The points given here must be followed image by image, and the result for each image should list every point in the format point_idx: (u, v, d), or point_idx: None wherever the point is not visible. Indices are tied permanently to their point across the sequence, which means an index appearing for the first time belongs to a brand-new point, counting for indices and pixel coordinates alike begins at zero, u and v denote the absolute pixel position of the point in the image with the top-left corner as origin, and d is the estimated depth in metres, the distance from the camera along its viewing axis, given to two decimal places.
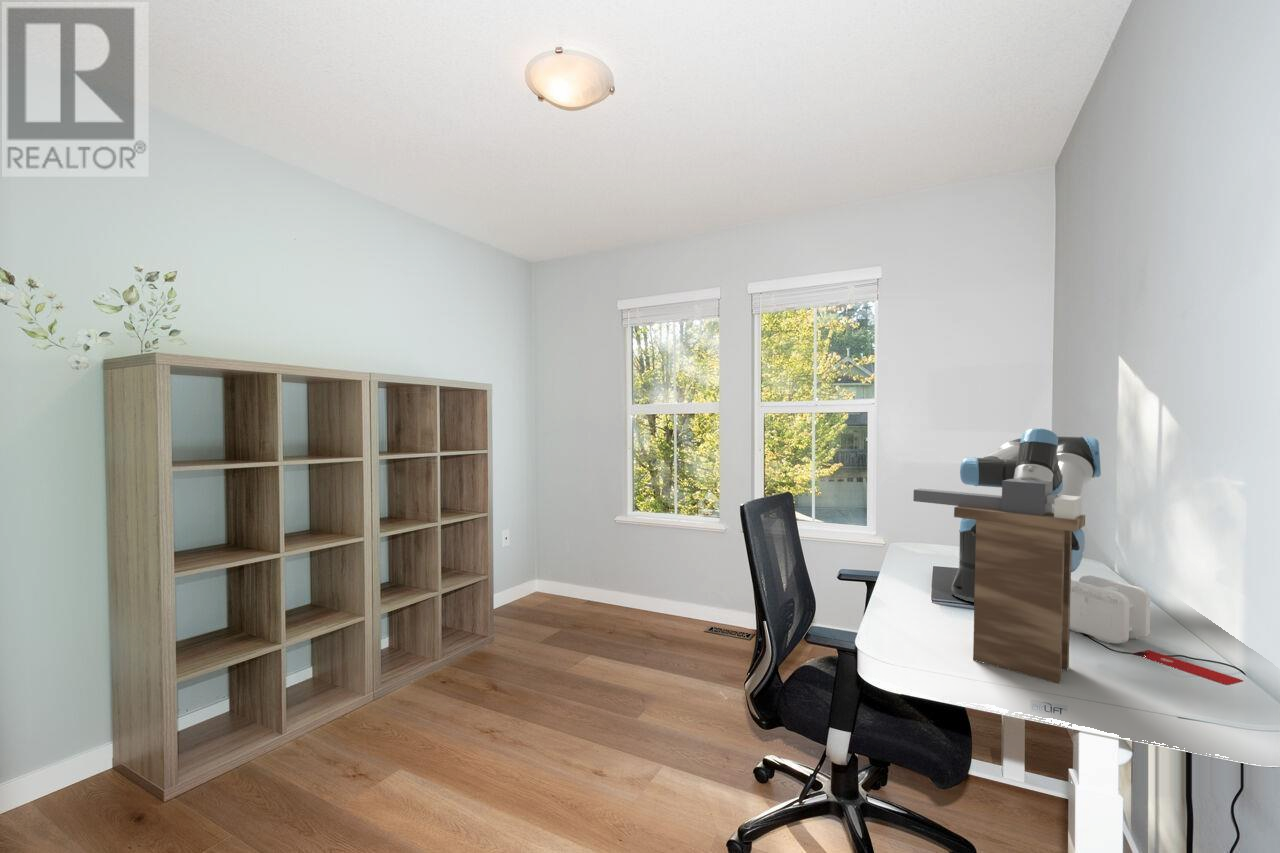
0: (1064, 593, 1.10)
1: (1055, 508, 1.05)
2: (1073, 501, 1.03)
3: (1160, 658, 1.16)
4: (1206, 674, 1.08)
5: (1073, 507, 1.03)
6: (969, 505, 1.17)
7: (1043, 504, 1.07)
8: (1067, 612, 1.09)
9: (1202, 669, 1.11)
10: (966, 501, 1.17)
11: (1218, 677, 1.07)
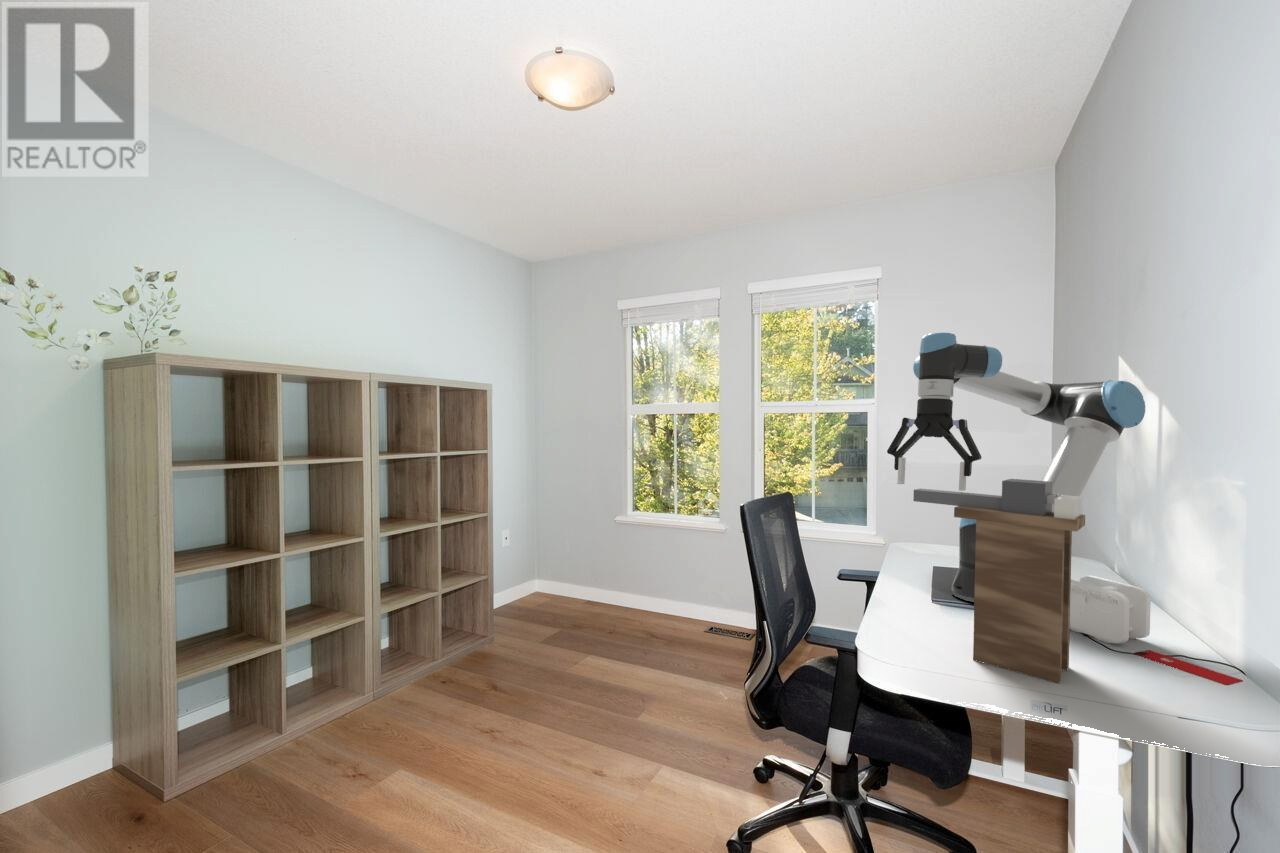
0: (1064, 593, 1.10)
1: (1055, 508, 1.05)
2: (1073, 501, 1.03)
3: (1160, 658, 1.16)
4: (1206, 674, 1.08)
5: (1073, 507, 1.03)
6: (969, 505, 1.17)
7: (1043, 504, 1.07)
8: (1067, 612, 1.09)
9: (1202, 669, 1.11)
10: (966, 501, 1.17)
11: (1218, 677, 1.07)
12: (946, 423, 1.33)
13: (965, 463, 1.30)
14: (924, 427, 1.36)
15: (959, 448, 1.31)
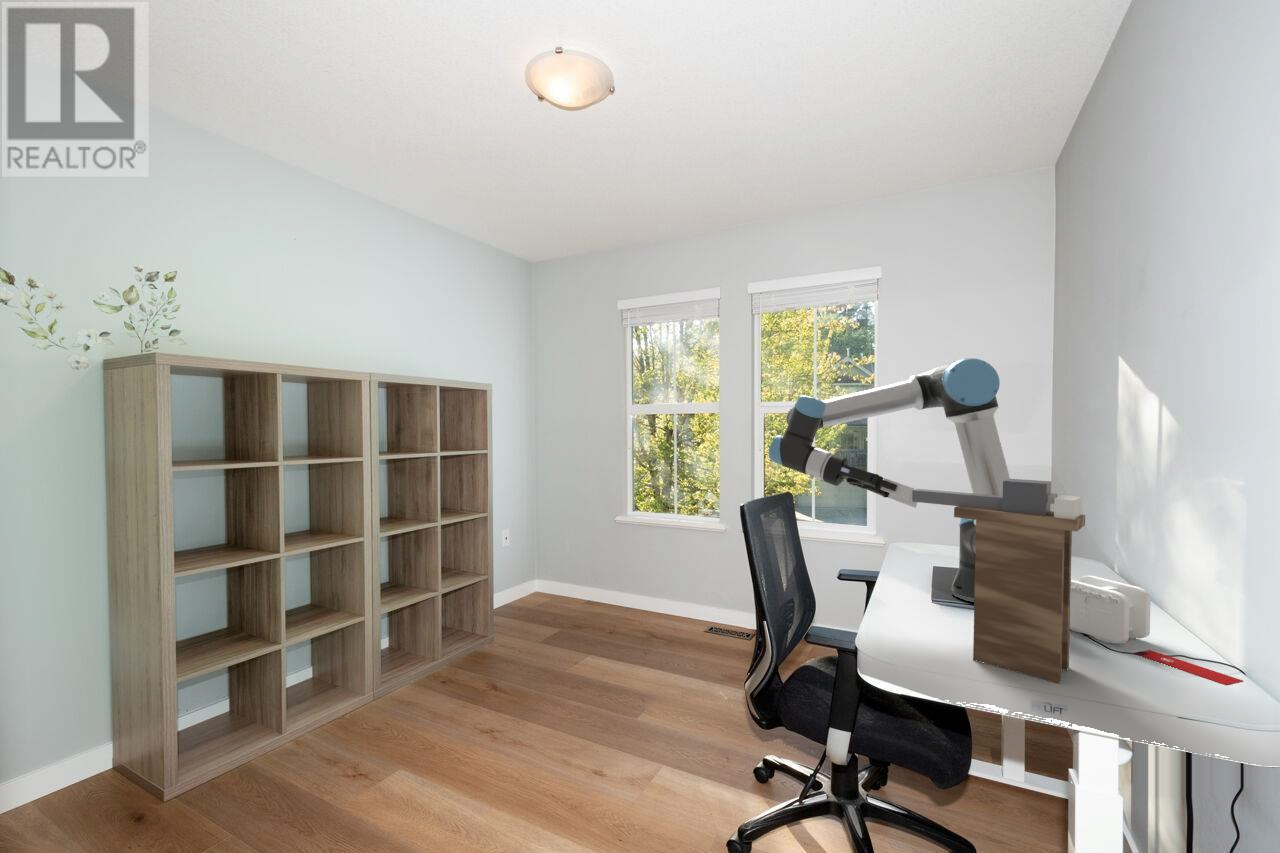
0: (1064, 593, 1.10)
1: (1055, 508, 1.05)
2: (1073, 501, 1.03)
3: (1160, 658, 1.16)
4: (1206, 674, 1.08)
5: (1073, 507, 1.03)
6: (969, 505, 1.16)
7: (1044, 504, 1.07)
8: (1067, 612, 1.09)
9: (1202, 669, 1.11)
10: (966, 501, 1.17)
11: (1217, 677, 1.07)
12: (846, 477, 1.39)
13: (882, 486, 1.30)
14: None
15: (867, 484, 1.33)
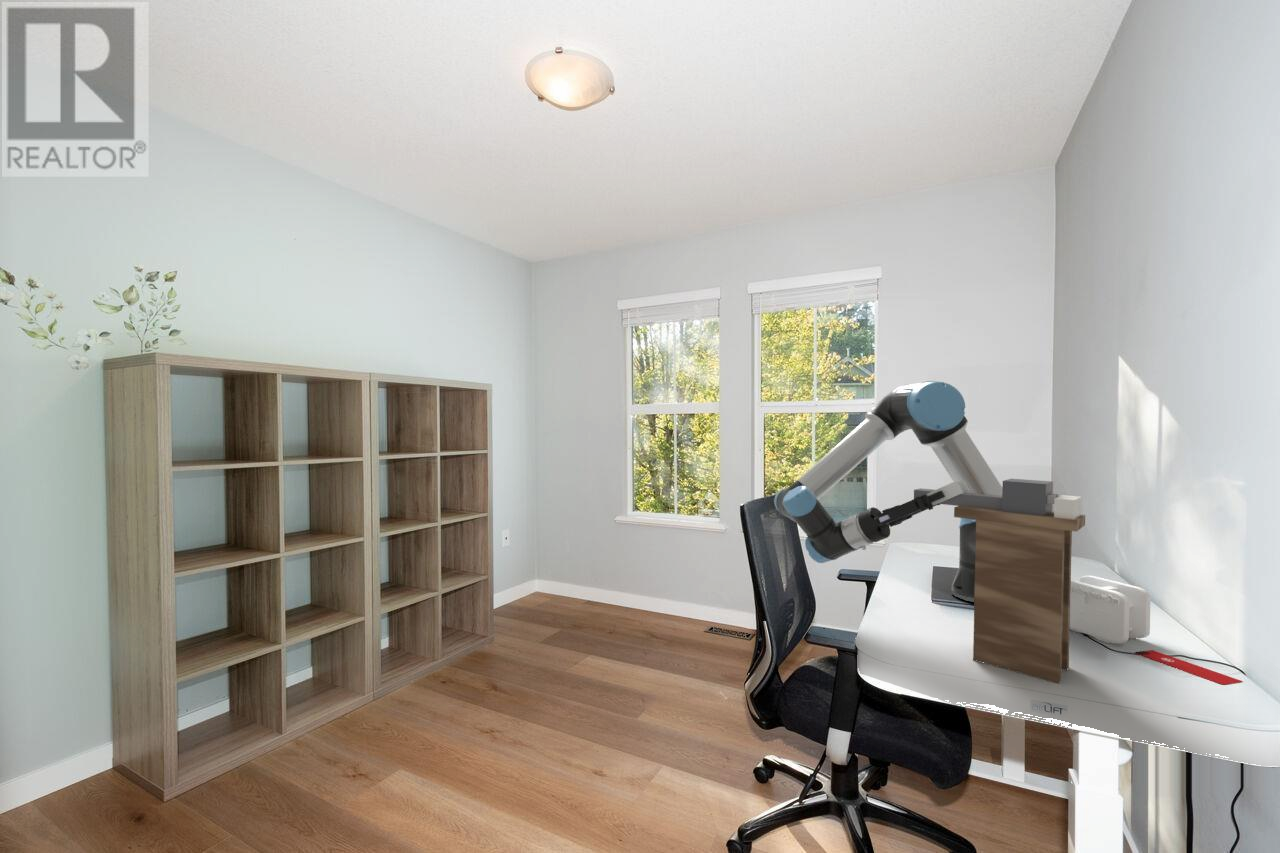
0: (1064, 593, 1.10)
1: (1055, 508, 1.05)
2: (1073, 501, 1.03)
3: (1161, 658, 1.16)
4: (1204, 674, 1.08)
5: (1073, 507, 1.03)
6: (969, 505, 1.17)
7: (1043, 504, 1.07)
8: (1067, 612, 1.09)
9: (1202, 669, 1.11)
10: (966, 501, 1.17)
11: (1216, 677, 1.07)
12: (886, 524, 1.28)
13: (932, 502, 1.21)
14: (899, 523, 1.30)
15: (916, 511, 1.23)
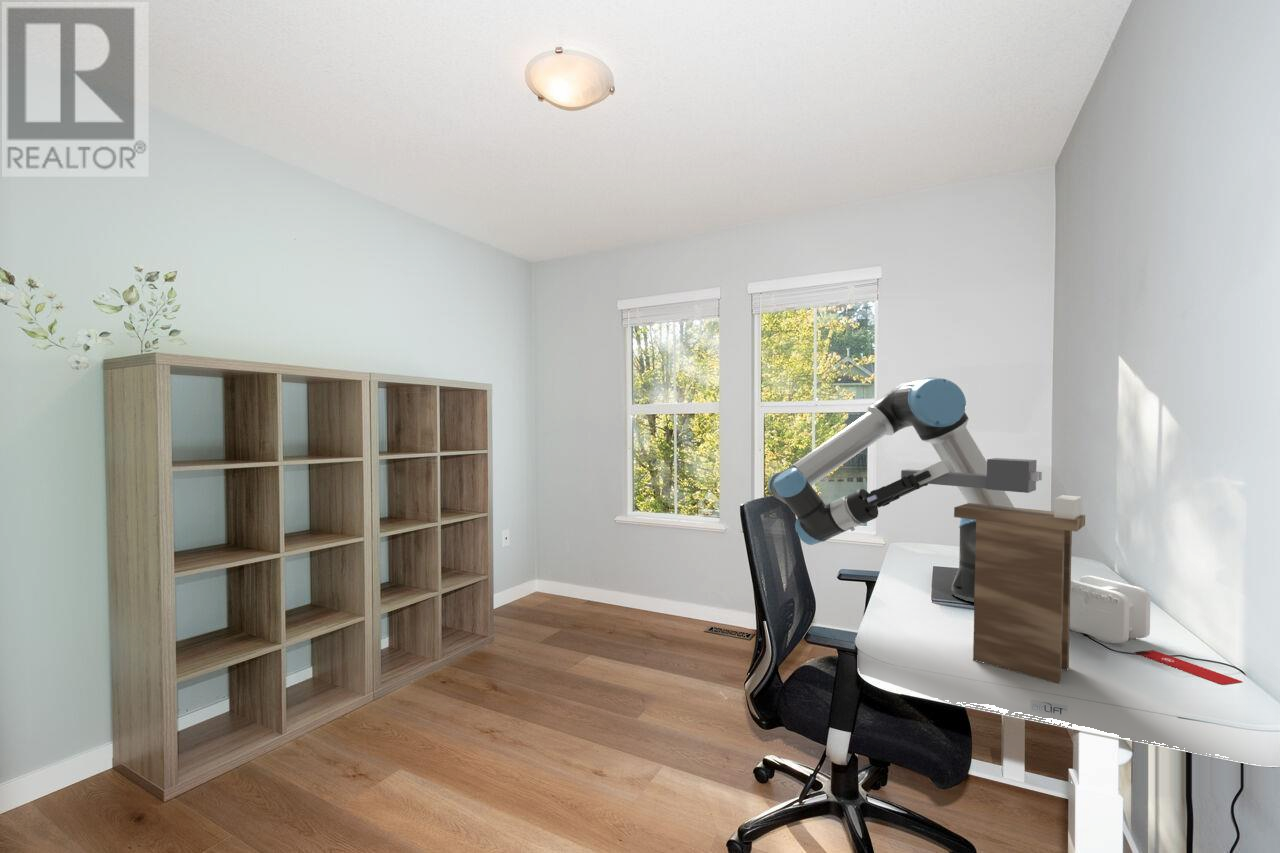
0: (1064, 593, 1.10)
1: (1055, 508, 1.05)
2: (1073, 501, 1.03)
3: (1161, 658, 1.16)
4: (1204, 674, 1.08)
5: (1073, 507, 1.03)
6: (955, 484, 1.19)
7: (1027, 481, 1.09)
8: (1067, 612, 1.09)
9: (1202, 669, 1.11)
10: (952, 480, 1.19)
11: (1216, 677, 1.07)
12: (874, 504, 1.29)
13: (918, 482, 1.23)
14: (887, 504, 1.31)
15: (903, 491, 1.25)
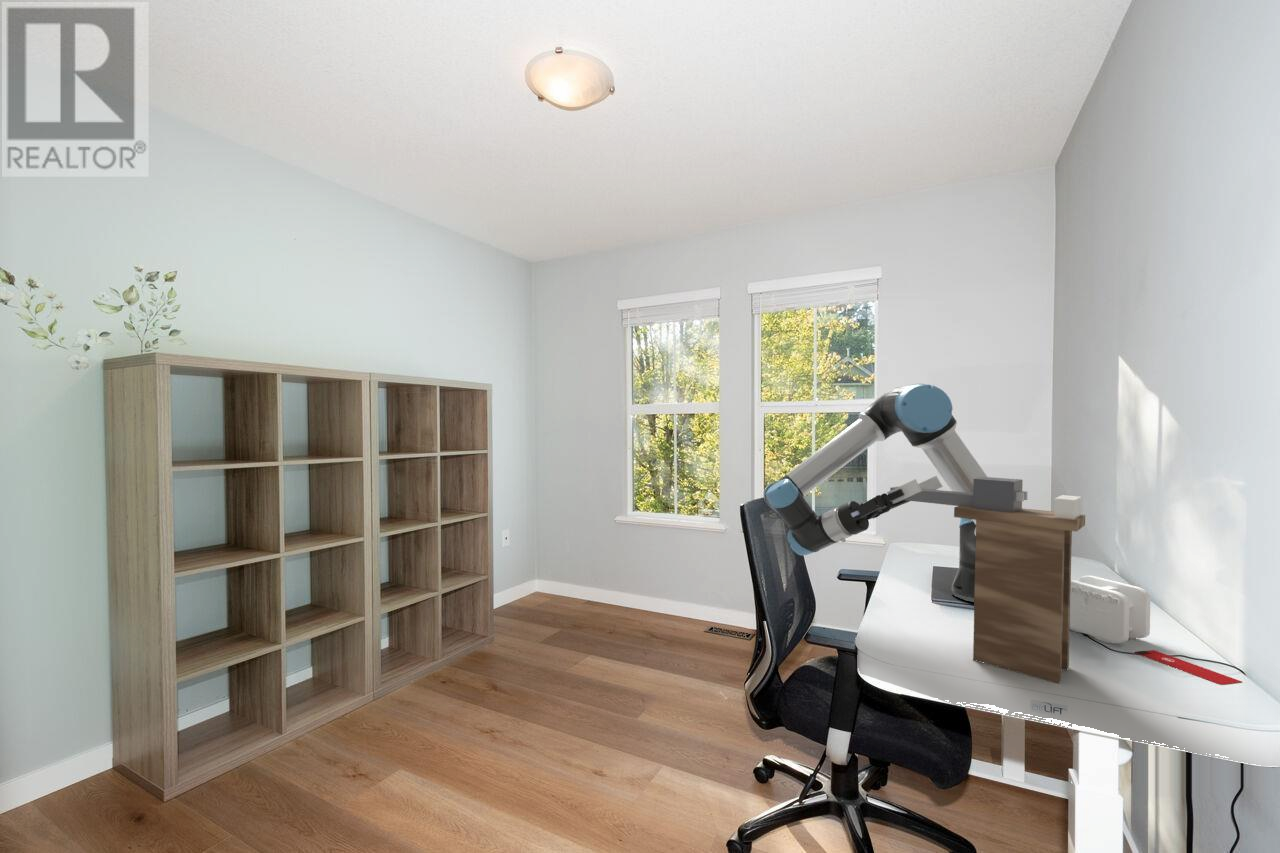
0: (1064, 593, 1.10)
1: (1055, 508, 1.05)
2: (1073, 501, 1.03)
3: (1162, 657, 1.16)
4: (1204, 674, 1.08)
5: (1073, 507, 1.03)
6: (943, 502, 1.20)
7: (1012, 501, 1.10)
8: (1067, 612, 1.09)
9: (1202, 669, 1.11)
10: (940, 498, 1.21)
11: (1215, 677, 1.07)
12: (864, 516, 1.31)
13: (892, 500, 1.23)
14: None
15: (881, 508, 1.25)
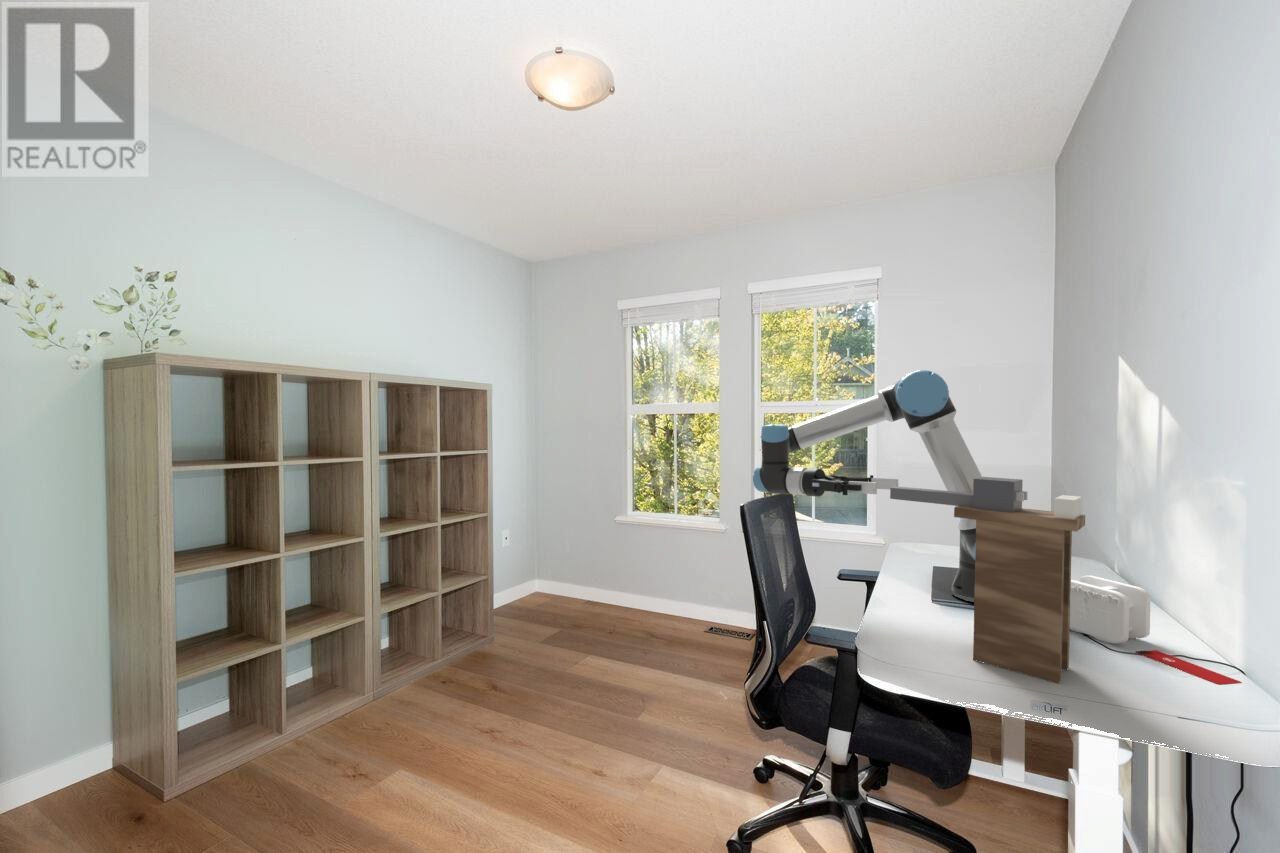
0: (1064, 593, 1.10)
1: (1055, 508, 1.05)
2: (1073, 501, 1.03)
3: (1162, 657, 1.16)
4: (1203, 674, 1.08)
5: (1073, 507, 1.03)
6: (943, 502, 1.20)
7: (1012, 501, 1.10)
8: (1067, 612, 1.09)
9: (1202, 669, 1.10)
10: (940, 498, 1.21)
11: (1214, 677, 1.07)
12: None
13: (849, 489, 1.38)
14: None
15: None
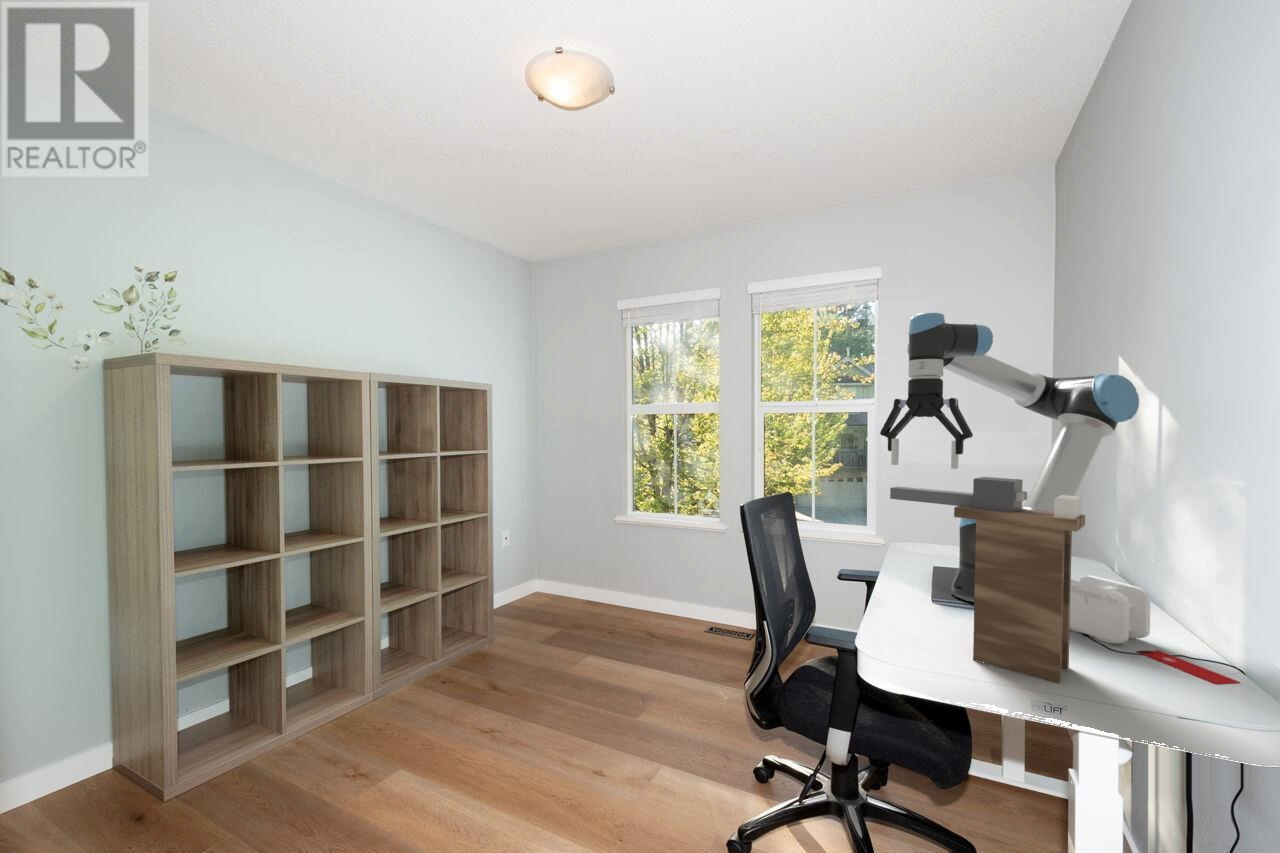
0: (1064, 593, 1.10)
1: (1055, 508, 1.05)
2: (1073, 501, 1.03)
3: (1163, 657, 1.16)
4: (1202, 674, 1.08)
5: (1073, 507, 1.03)
6: (943, 502, 1.20)
7: (1012, 501, 1.10)
8: (1067, 612, 1.09)
9: (1202, 670, 1.10)
10: (940, 498, 1.21)
11: (1213, 677, 1.07)
12: (937, 402, 1.34)
13: (957, 441, 1.31)
14: (915, 407, 1.37)
15: (950, 427, 1.32)
